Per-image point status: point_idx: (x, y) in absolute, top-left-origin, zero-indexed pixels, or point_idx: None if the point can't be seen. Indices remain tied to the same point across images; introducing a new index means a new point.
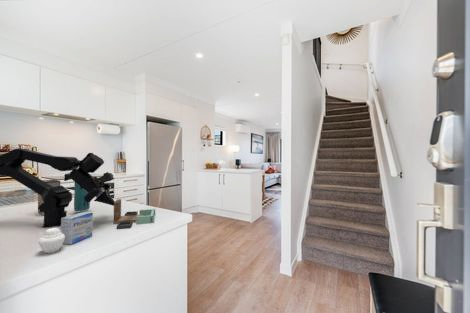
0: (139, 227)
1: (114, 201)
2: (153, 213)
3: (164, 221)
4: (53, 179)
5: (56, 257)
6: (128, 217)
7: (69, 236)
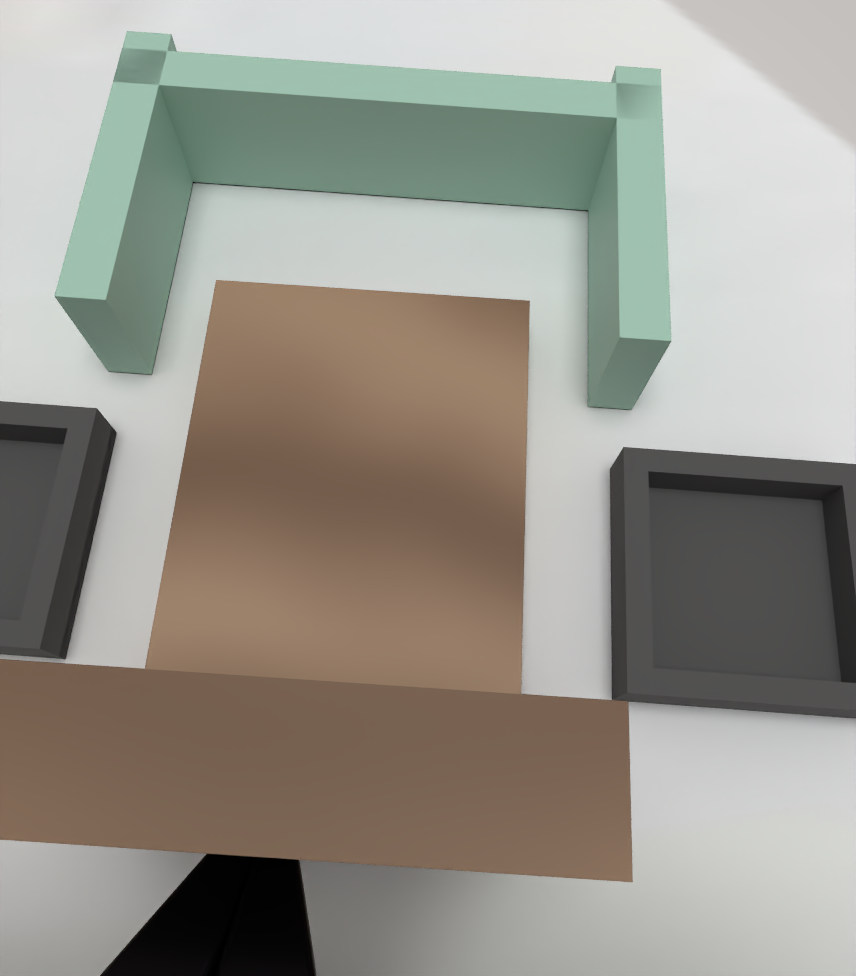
0: (825, 356)
1: (170, 920)
2: (424, 82)
3: (599, 39)
4: None
5: None
6: (318, 542)
7: None
